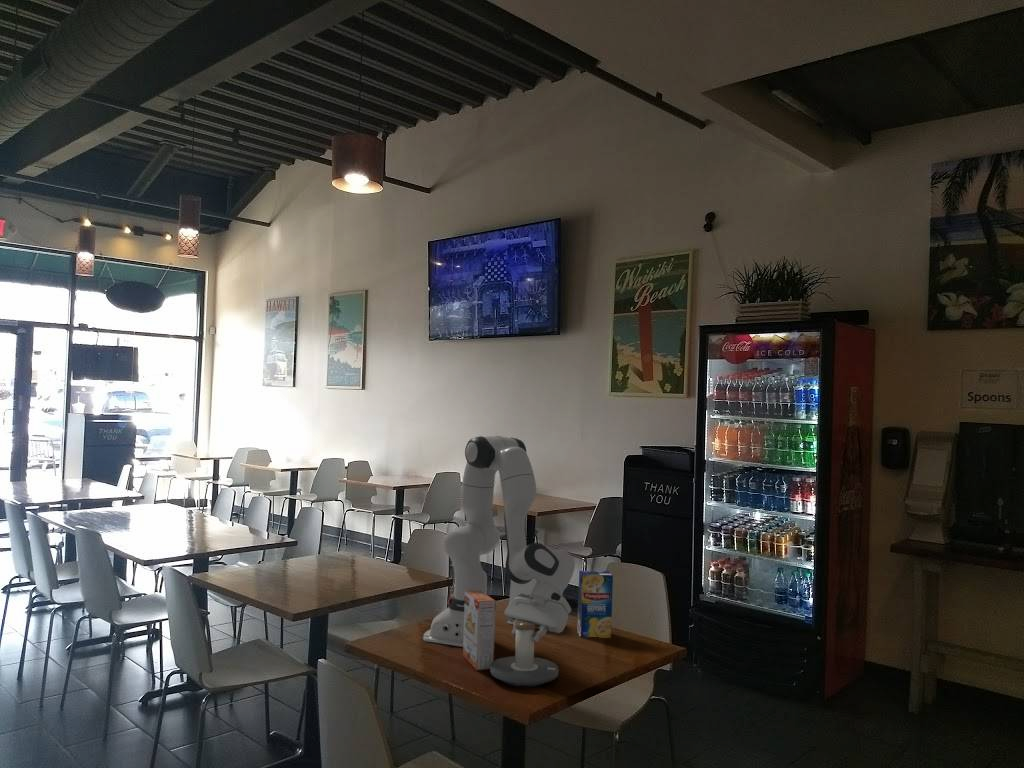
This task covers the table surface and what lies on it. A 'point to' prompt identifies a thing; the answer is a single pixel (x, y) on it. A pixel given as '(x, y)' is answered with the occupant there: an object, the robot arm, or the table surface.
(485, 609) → the cracker box
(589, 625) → the blue cardboard box
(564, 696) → the table surface
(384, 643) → the table surface
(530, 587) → the milk
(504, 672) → the lazy susan
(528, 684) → the lazy susan base
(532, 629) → the jar
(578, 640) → the table surface
